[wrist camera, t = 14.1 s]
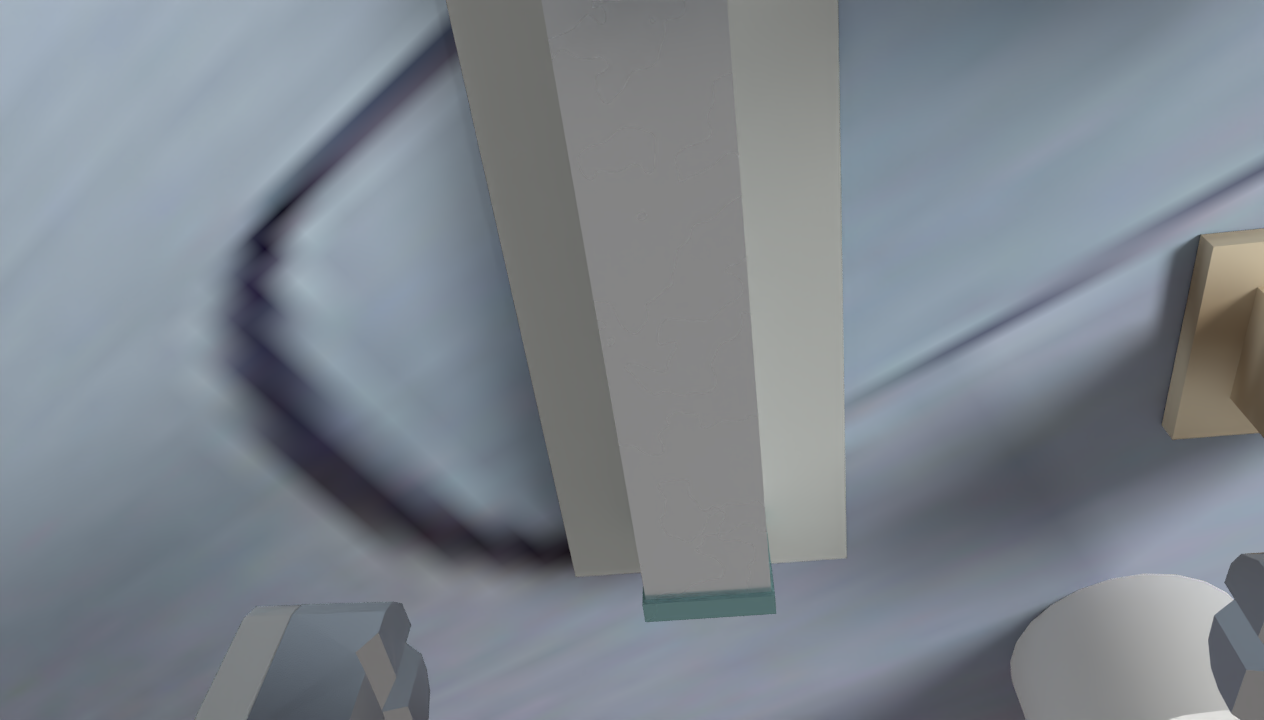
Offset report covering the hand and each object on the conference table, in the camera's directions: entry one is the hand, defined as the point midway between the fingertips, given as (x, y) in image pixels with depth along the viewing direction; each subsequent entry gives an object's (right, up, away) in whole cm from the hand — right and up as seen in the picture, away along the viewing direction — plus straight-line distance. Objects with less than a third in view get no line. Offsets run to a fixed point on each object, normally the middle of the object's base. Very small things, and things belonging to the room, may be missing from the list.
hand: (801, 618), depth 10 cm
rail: (-1, +9, +17) cm, 19 cm away
